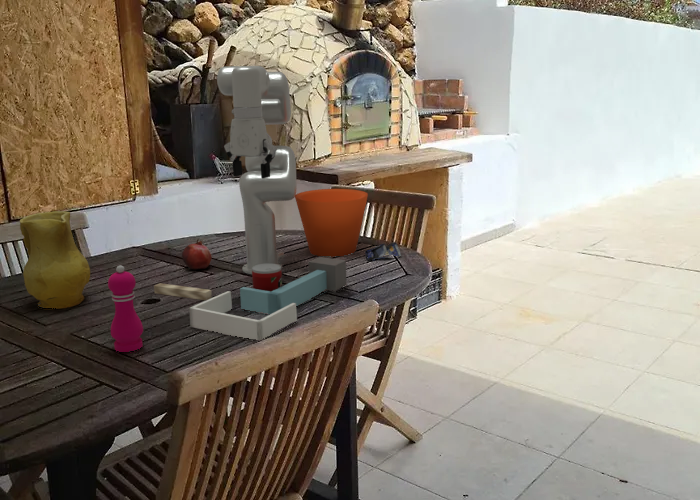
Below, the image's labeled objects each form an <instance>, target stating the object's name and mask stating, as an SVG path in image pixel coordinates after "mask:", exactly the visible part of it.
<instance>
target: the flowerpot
mask: <svg viewBox="0 0 700 500" xmlns="http://www.w3.org/2000/svg"><path fill="white" fill-rule="evenodd" d="M368 197H369V193H368V192H366V191H363V190H359V189H351V188H322V189H321V188H320V189H312V190H307V191H306V190H305V191H301V192H298V193H296V195H295V197H294V198H295V202H296V206H297V209H298V214H299V218H300V221H301V224H302V228H303V232H304V235H305V239H306V243H307V246H308V250H309V253H310V254H311V255H313V256H316V255H317V257H321V256H331V257H330V258H336V257H335V256H340V257H345V256H344V255H347V256H349V255H348V254H350V255H352V254H351V253H353V254H354V252H355V251H357V249H358V248H357V247H358V242H359V237H360V233H361V228H362V224H363V219H364V214H365V210H366V206H367V205H366V204H367V200H368ZM355 253H356V252H355Z"/></svg>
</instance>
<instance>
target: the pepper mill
mask: <svg viewBox="0 0 700 500" xmlns="http://www.w3.org/2000/svg"><path fill="white" fill-rule="evenodd" d="M115 269H116V271H115V272H114V273H112V274H111V275H110V276H109V278H108V281H107V287H108V289H109V290H110V291H111V292H112V293H111V300H112V301H113V302H114V308H115V309H114V310H115V311H114V317H113V319H112V321H111V324H110V335H111V338H112V339H113V340H115V341H114V342H113V345H114V350H116V351H115V352H117V351H119V352H129V351H134V350H137V349H139V350H141V349H142V348H143V338H142V337H141V336H142V334H143V332H144V326H143V325H144V324H143V323H142V321H141V319H140V317H139V315H138V313H137V312H136V310H135V307H134V299H135V291H134V289H135V287H136V284H137V282H136V278H135V276H134V275H133V274H132V273H130V272H129V271H125V266H123V265H117V266H116V268H115ZM141 347H142V348H141ZM140 348H141V349H140ZM137 351H138V350H137ZM119 352H118V353H119ZM134 352H135V351H134Z"/></svg>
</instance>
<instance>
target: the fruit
mask: <svg viewBox="0 0 700 500" xmlns="http://www.w3.org/2000/svg"><path fill="white" fill-rule="evenodd" d="M203 242H204V241H203V240H200V241H199V238H197V240H196V242H195V243H191V244H187V246H186V247H184V249H183V251H182V253H181V257H182V261H183V262H184V265H186V266H187V267H188V271H191V270H204V269H207V268H208V267H209V266H210V264H211V262H212V257H213V256H212V253H211V251H210V249H209V248H208V247H207V246H206V245H204V244H203Z"/></svg>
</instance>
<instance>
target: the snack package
mask: <svg viewBox="0 0 700 500" xmlns="http://www.w3.org/2000/svg"><path fill="white" fill-rule="evenodd" d="M364 252H365V257H364V258H365V259H367V260H366V261H367V262H372V261H376V260H375V259H378V260H382V259H385V258H390V257H382V256H383V255H394V256H401V257H402V254H401V250H400V248H399V247H398V244H397V241H396V242H395V241H393V242H391V243H390V244H389V245H388V244H387V245H386V244H385V243H382V244H380V245H377V246H375V247H372V248H370V249H369V248H368V249H367V250H365V251H364ZM367 257H368V258H367ZM371 260H372V261H371Z"/></svg>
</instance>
